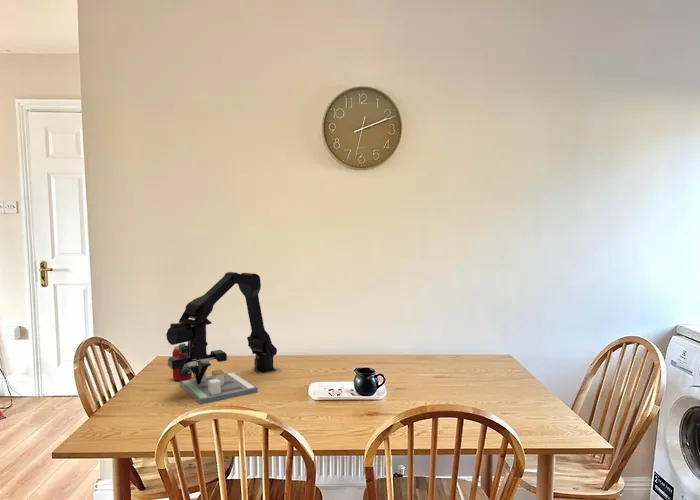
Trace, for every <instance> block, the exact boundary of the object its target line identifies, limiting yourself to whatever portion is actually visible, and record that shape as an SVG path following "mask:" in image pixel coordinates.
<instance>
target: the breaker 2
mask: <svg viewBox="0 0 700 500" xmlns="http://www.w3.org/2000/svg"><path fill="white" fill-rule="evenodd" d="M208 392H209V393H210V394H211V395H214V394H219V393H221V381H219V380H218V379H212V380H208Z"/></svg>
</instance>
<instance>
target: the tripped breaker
mask: <svg viewBox="0 0 700 500" xmlns="http://www.w3.org/2000/svg"><path fill="white" fill-rule="evenodd" d="M224 373H225V371H223V369H222V370H221V369H216V370H211V376H212V379H218V380H219V381H221V385H224Z"/></svg>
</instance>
